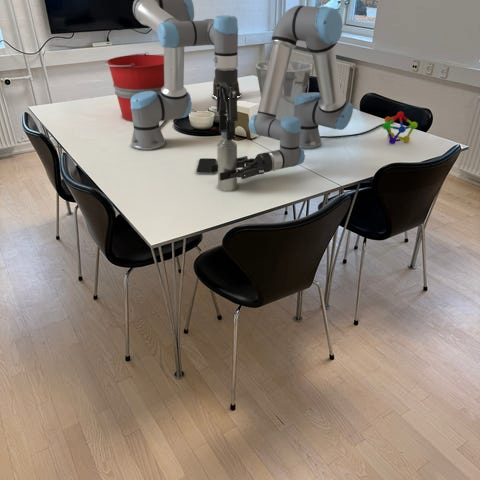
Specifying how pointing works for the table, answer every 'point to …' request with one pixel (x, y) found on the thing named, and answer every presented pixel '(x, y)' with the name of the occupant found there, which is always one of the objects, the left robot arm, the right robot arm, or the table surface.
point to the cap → (224, 134)
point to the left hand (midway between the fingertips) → (226, 136)
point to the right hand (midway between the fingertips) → (215, 173)
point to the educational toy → (398, 128)
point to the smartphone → (205, 165)
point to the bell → (235, 85)
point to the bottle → (227, 163)
